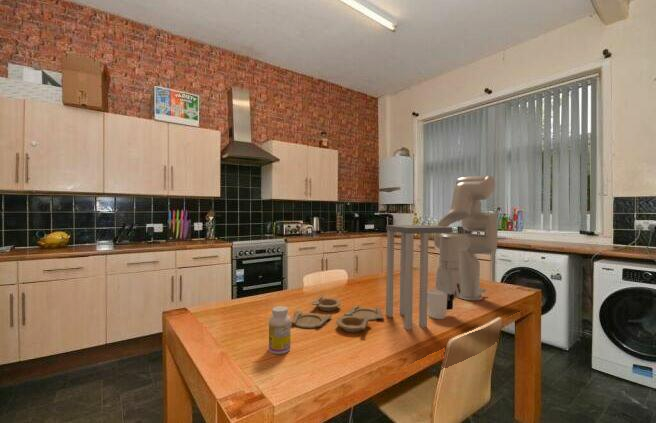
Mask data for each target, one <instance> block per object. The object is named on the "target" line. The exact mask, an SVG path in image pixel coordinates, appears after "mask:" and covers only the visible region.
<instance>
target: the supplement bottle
mask: <svg viewBox="0 0 656 423" xmlns="http://www.w3.org/2000/svg"><path fill="white" fill-rule="evenodd" d="M271 313H272V316H270V318H269V320H268V351H269V353H272V354H275V355H283V354H286V353H288V352H289V351H290V350H291V346H292V345H291V340H292V339H291V337H292V335H291V333H292V332H291V330H292V328H291V325H292V324H291V321H292V318H291V316H290V315H288V307H287V306H283V305H280V306H279V305H278V306H274V307H273V308H272V309H271Z"/></svg>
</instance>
